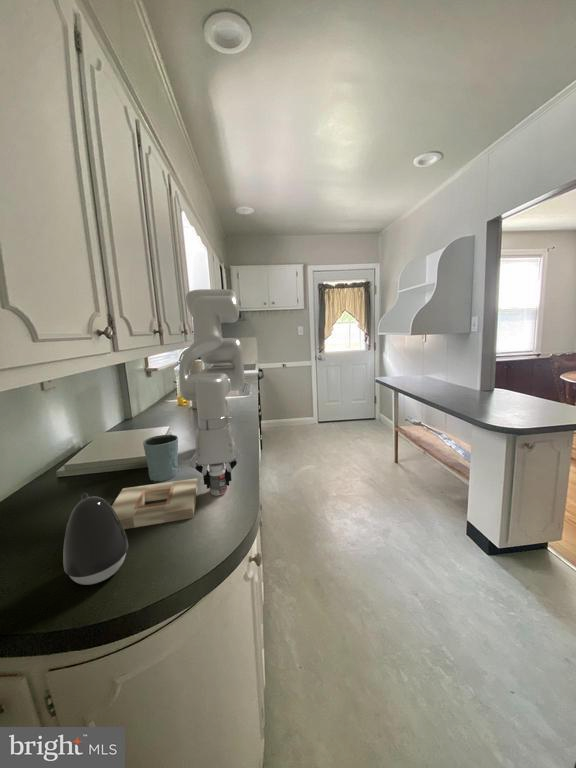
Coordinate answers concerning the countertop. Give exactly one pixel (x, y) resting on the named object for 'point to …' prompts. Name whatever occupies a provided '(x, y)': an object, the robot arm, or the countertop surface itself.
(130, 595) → the countertop surface
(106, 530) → the dark rounded oval
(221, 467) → the pill bottle
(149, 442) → the blue green cup
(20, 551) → the countertop surface
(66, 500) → the countertop surface
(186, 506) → the socket plate
